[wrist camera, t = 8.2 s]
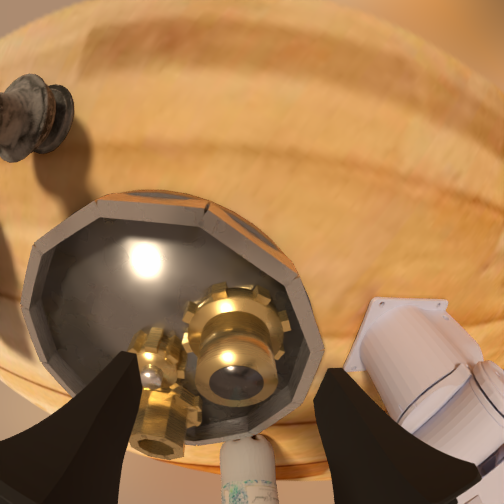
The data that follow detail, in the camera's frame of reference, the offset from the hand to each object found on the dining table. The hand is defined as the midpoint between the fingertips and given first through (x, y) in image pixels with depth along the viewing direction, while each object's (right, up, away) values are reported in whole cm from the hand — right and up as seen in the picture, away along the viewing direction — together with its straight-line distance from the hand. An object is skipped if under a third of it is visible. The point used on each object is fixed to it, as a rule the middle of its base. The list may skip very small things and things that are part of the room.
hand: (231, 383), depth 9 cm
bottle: (0, -18, +18) cm, 25 cm away
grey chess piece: (-14, +15, +4) cm, 21 cm away
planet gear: (-7, -9, +12) cm, 17 cm away
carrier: (-7, -2, +11) cm, 13 cm away
